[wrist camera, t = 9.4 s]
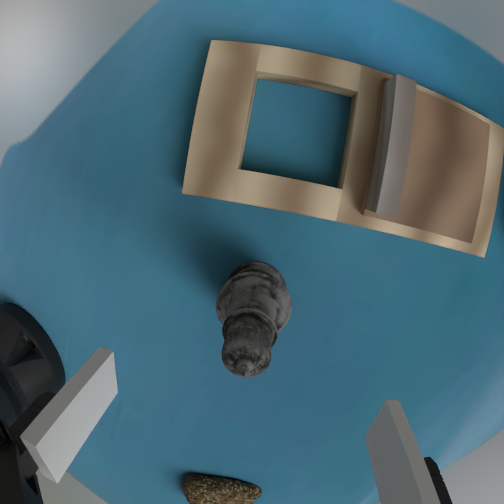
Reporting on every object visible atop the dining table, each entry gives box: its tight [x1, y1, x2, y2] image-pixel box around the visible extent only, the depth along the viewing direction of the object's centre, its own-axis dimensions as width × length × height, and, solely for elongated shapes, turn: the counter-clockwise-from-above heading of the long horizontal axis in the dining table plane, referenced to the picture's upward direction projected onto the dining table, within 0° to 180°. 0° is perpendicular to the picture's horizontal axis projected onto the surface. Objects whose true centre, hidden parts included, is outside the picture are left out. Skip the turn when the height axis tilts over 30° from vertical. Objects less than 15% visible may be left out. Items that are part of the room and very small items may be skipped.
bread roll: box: [182, 474, 262, 504], centre depth 34 cm, size 13×12×5 cm
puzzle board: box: [182, 40, 504, 258], centre depth 21 cm, size 28×13×2 cm, turn 80°
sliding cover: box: [360, 74, 490, 244], centre depth 18 cm, size 11×11×4 cm
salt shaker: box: [216, 262, 292, 377], centre depth 20 cm, size 6×6×12 cm
